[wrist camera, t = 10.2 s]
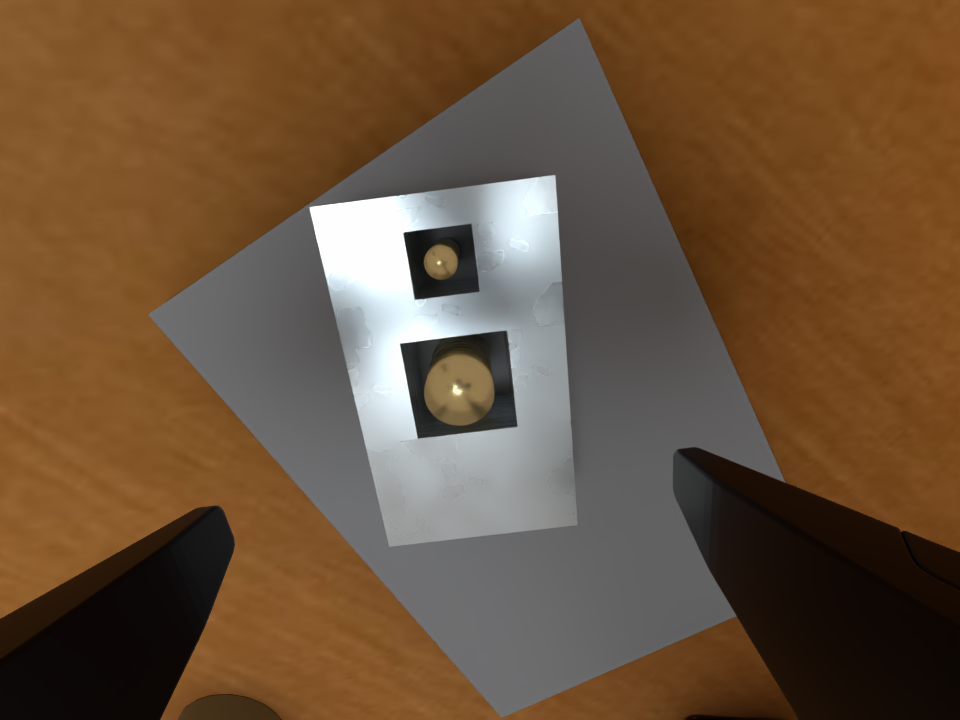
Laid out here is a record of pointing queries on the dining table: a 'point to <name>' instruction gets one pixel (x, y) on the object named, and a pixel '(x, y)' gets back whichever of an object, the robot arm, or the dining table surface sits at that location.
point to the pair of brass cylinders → (456, 358)
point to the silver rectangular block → (449, 313)
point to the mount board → (591, 376)
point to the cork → (227, 709)
